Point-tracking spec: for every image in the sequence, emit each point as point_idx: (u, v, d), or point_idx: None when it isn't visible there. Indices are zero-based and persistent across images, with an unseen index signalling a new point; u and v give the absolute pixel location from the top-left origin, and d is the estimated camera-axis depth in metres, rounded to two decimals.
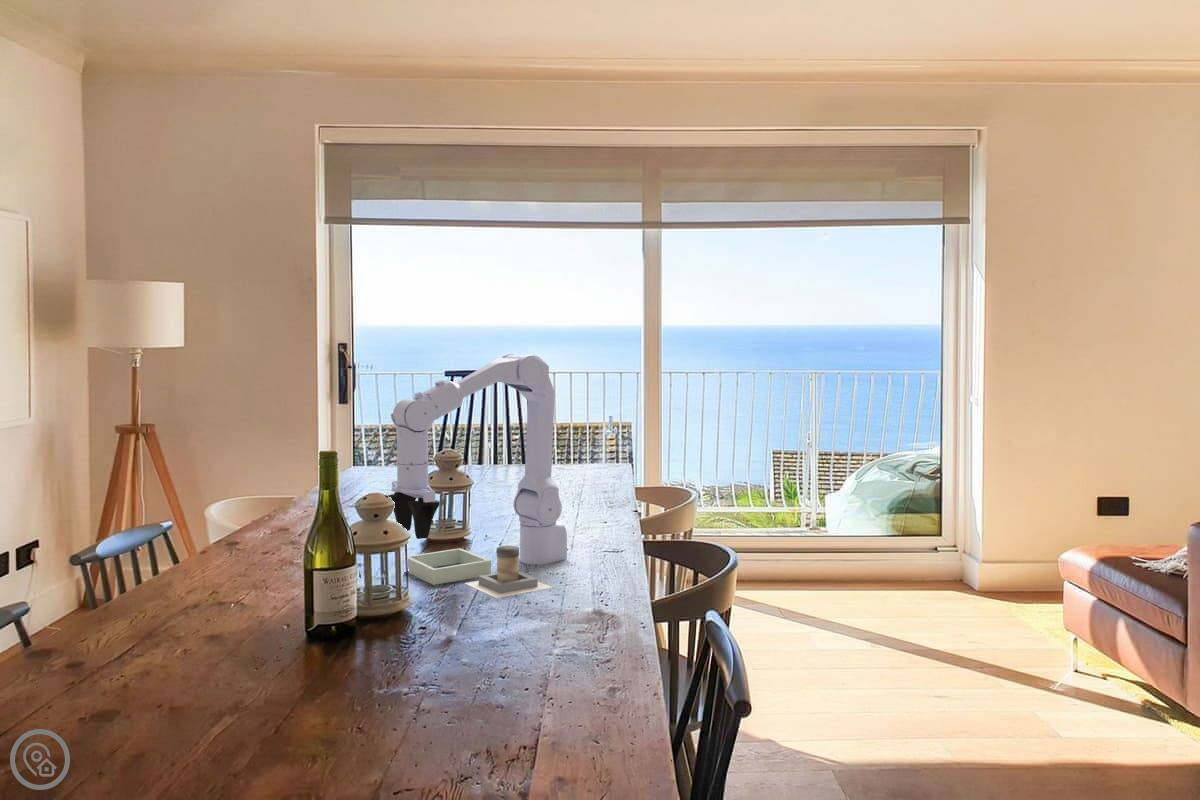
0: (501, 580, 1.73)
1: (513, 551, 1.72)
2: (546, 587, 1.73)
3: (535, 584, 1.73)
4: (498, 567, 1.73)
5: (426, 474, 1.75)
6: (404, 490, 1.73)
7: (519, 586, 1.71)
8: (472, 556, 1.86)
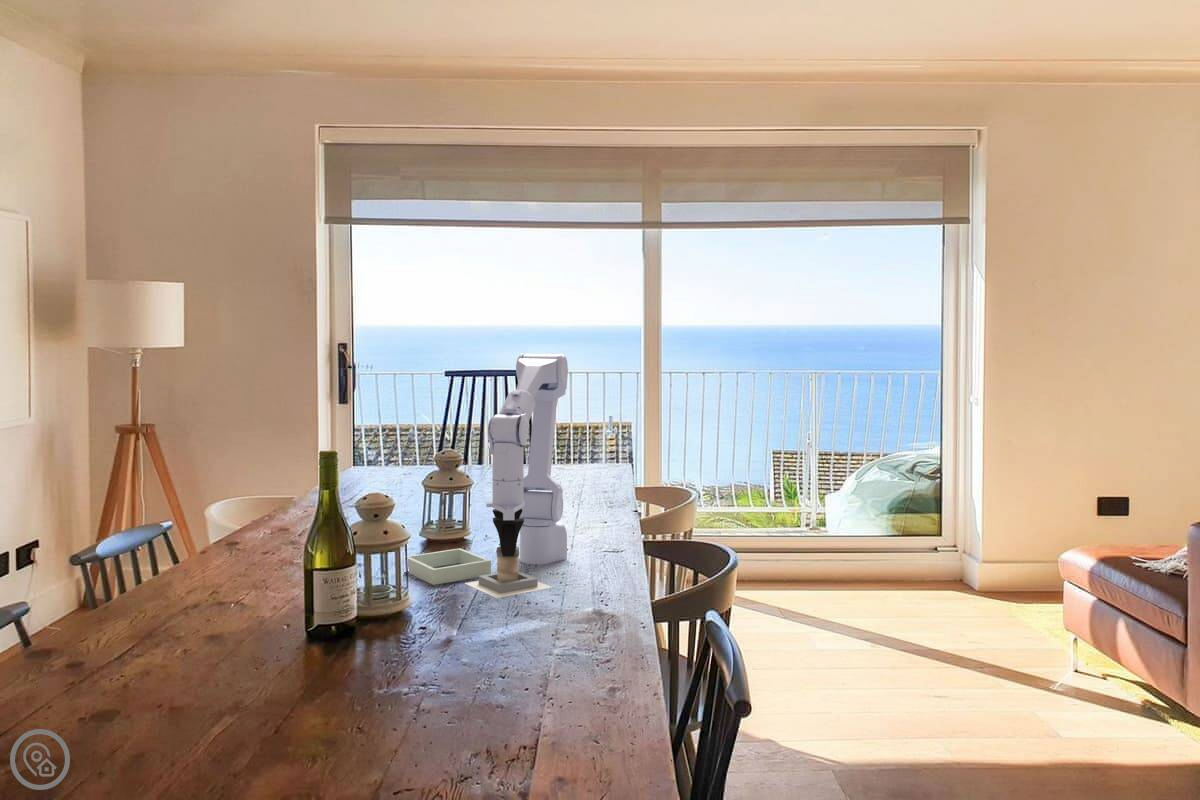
0: (501, 580, 1.73)
1: None
2: (546, 587, 1.73)
3: (535, 584, 1.73)
4: (498, 567, 1.73)
5: (517, 491, 1.71)
6: (494, 506, 1.71)
7: (519, 586, 1.71)
8: (472, 556, 1.86)
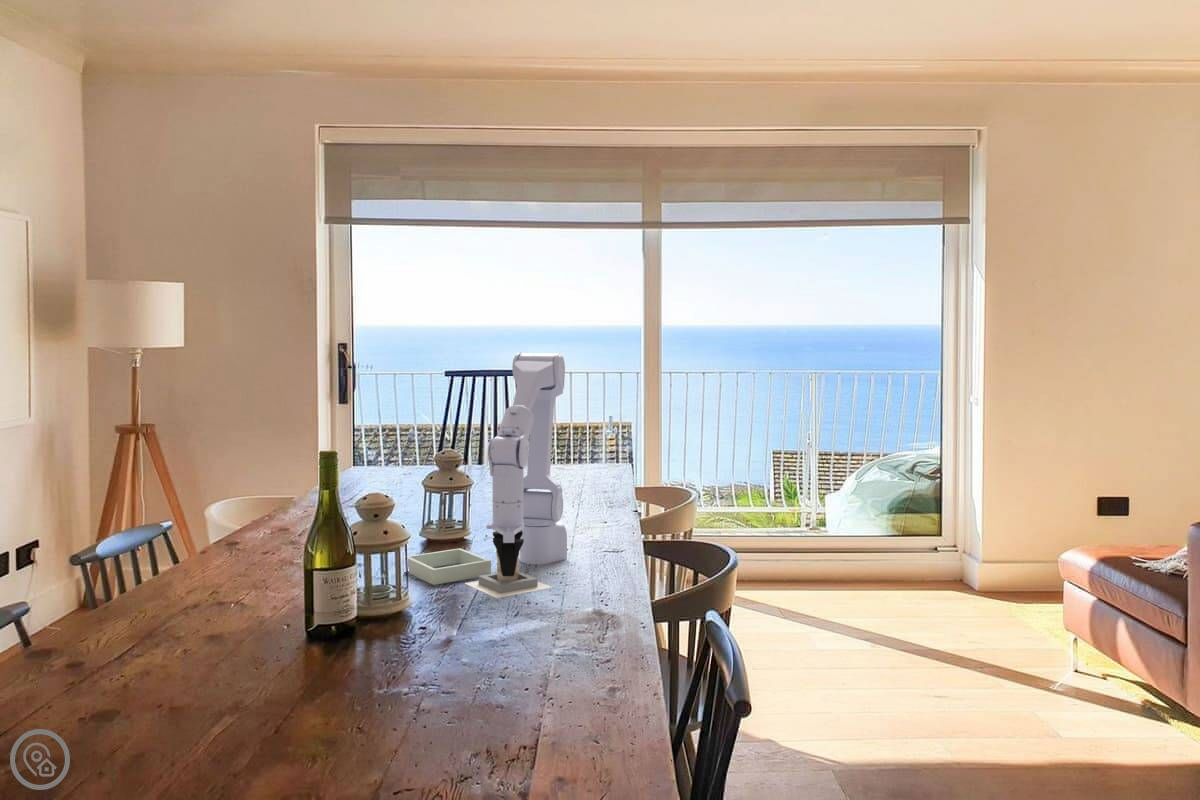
0: (501, 580, 1.73)
1: None
2: (546, 587, 1.73)
3: (535, 584, 1.73)
4: (498, 567, 1.73)
5: (517, 513, 1.72)
6: (494, 527, 1.72)
7: (519, 586, 1.71)
8: (472, 556, 1.86)
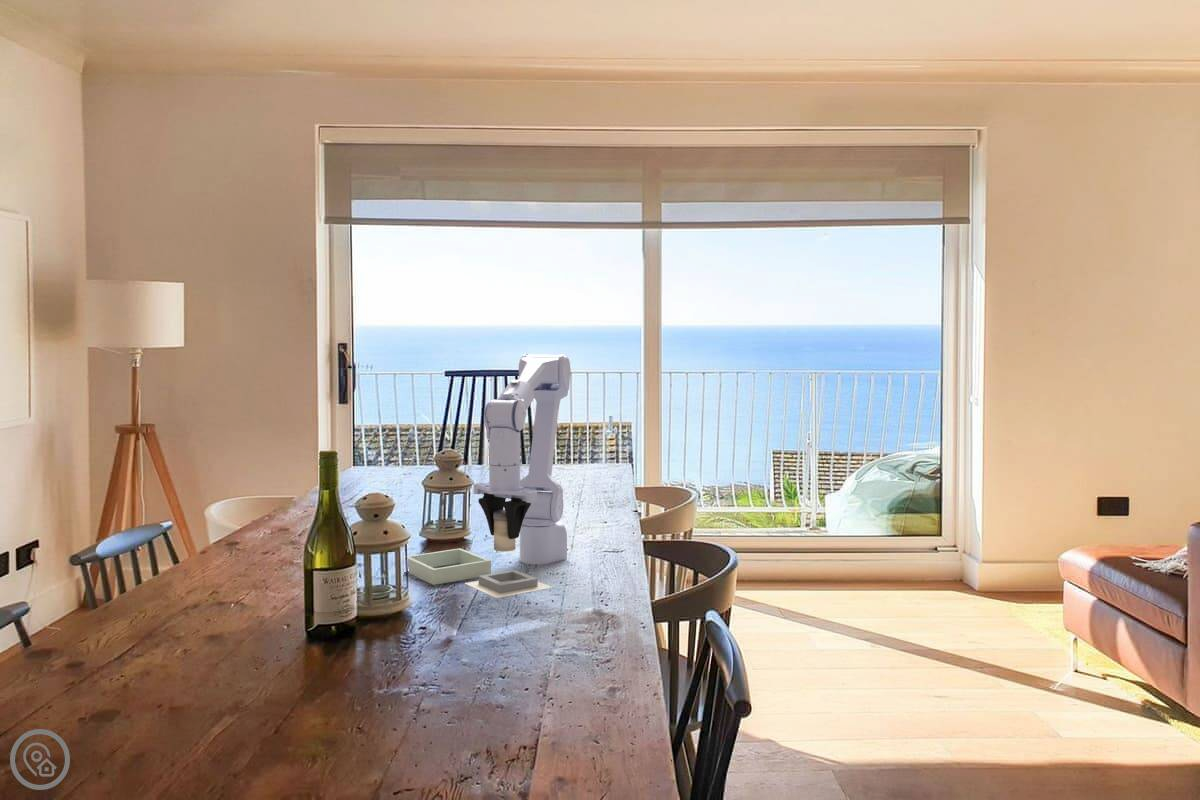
0: (506, 544, 1.73)
1: None
2: (546, 587, 1.73)
3: (535, 584, 1.73)
4: (501, 532, 1.72)
5: (519, 475, 1.73)
6: (502, 492, 1.71)
7: (519, 586, 1.71)
8: (472, 556, 1.86)
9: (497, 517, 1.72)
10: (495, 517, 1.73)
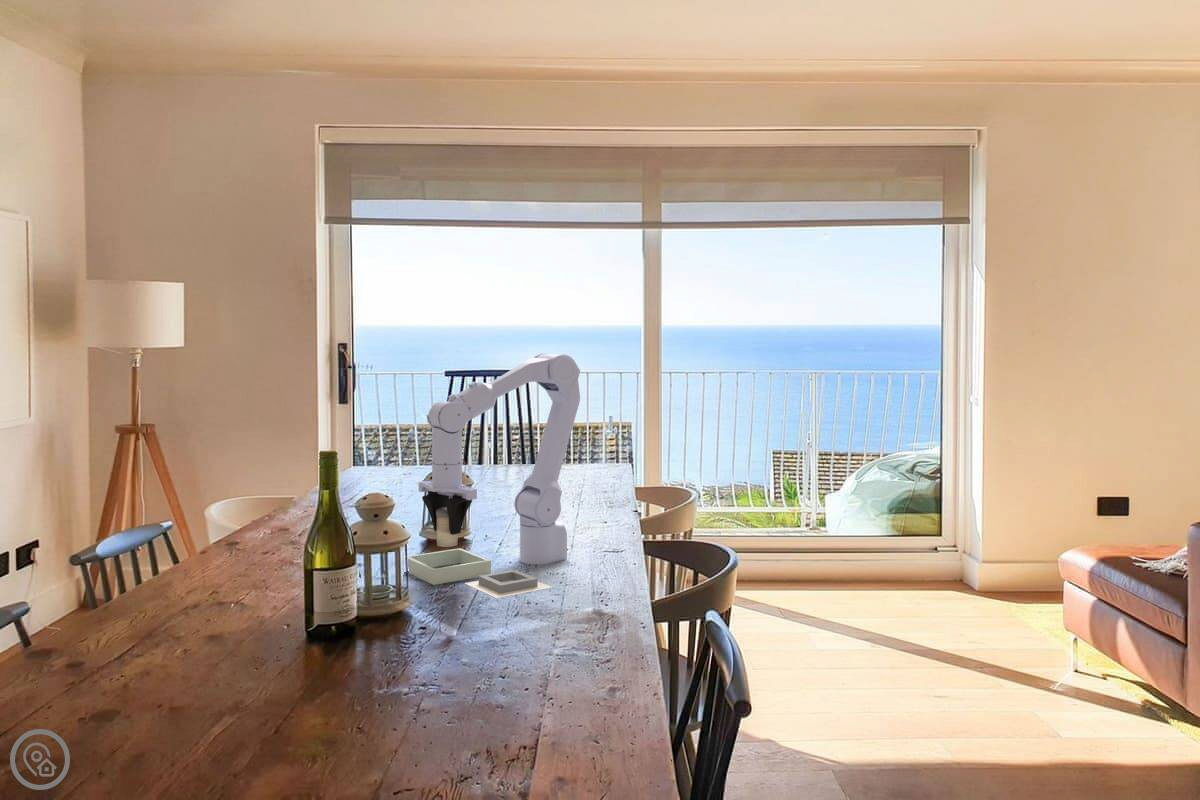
0: (448, 539, 1.81)
1: None
2: (546, 587, 1.73)
3: (535, 584, 1.73)
4: (443, 528, 1.80)
5: (461, 473, 1.82)
6: (443, 489, 1.79)
7: (519, 586, 1.71)
8: (472, 556, 1.86)
9: (439, 514, 1.81)
10: (437, 514, 1.81)
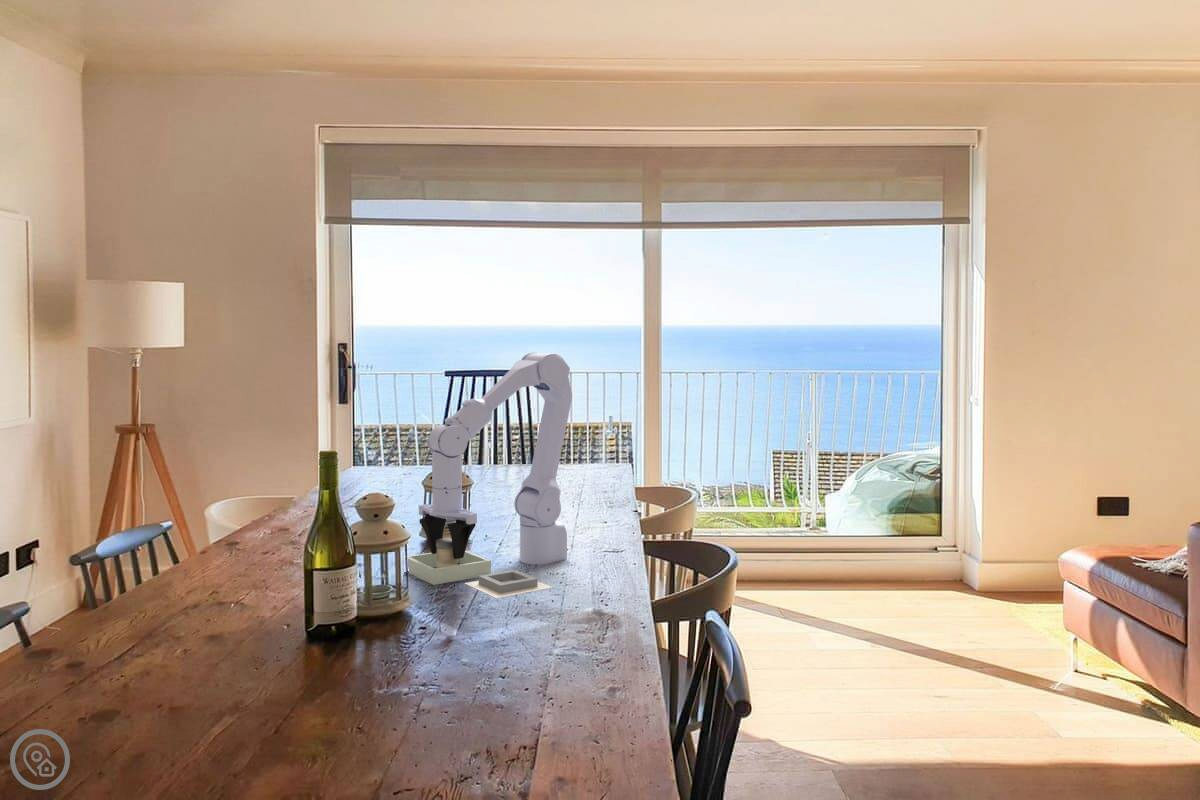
0: None
1: None
2: (546, 587, 1.73)
3: (535, 584, 1.73)
4: (443, 559, 1.81)
5: (461, 497, 1.82)
6: (443, 513, 1.79)
7: (519, 586, 1.71)
8: (472, 556, 1.86)
9: (439, 545, 1.81)
10: (437, 545, 1.81)
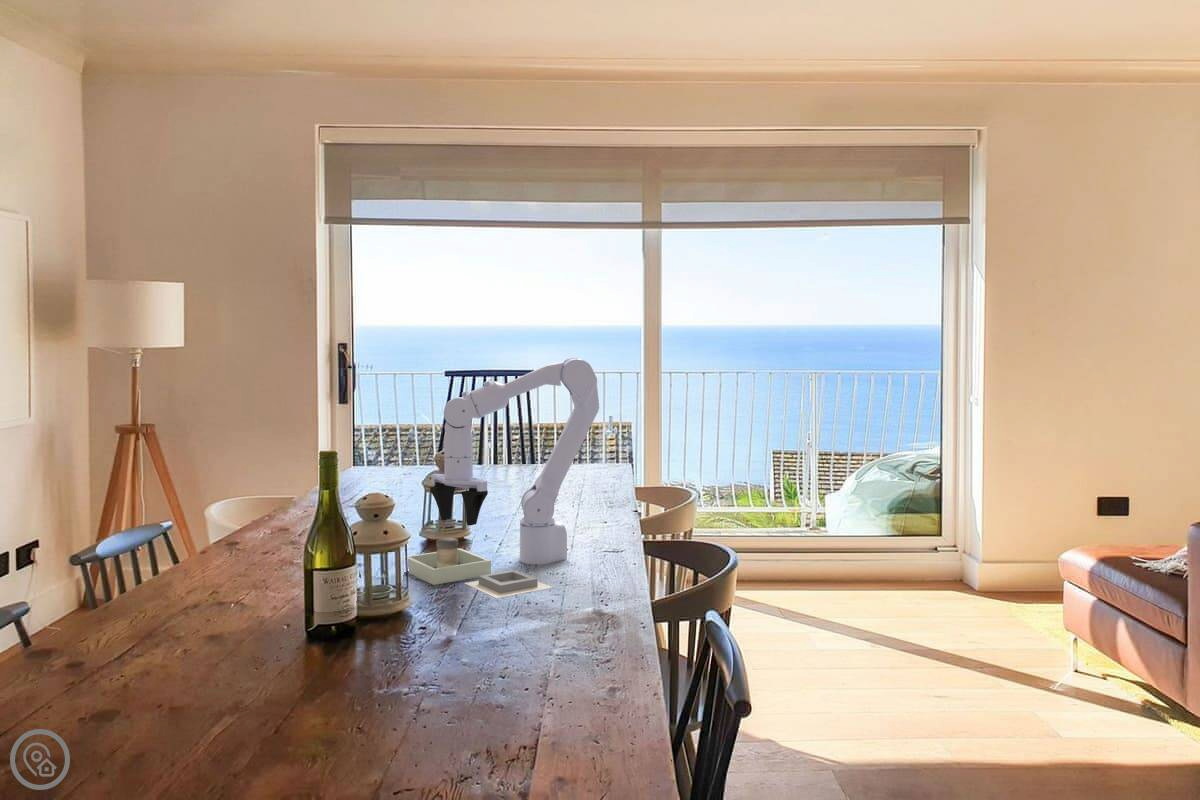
0: None
1: (457, 541, 1.82)
2: (546, 587, 1.73)
3: (535, 584, 1.73)
4: (443, 559, 1.81)
5: (472, 466, 1.90)
6: (455, 481, 1.87)
7: (519, 586, 1.71)
8: (472, 556, 1.86)
9: (439, 545, 1.81)
10: (438, 545, 1.81)
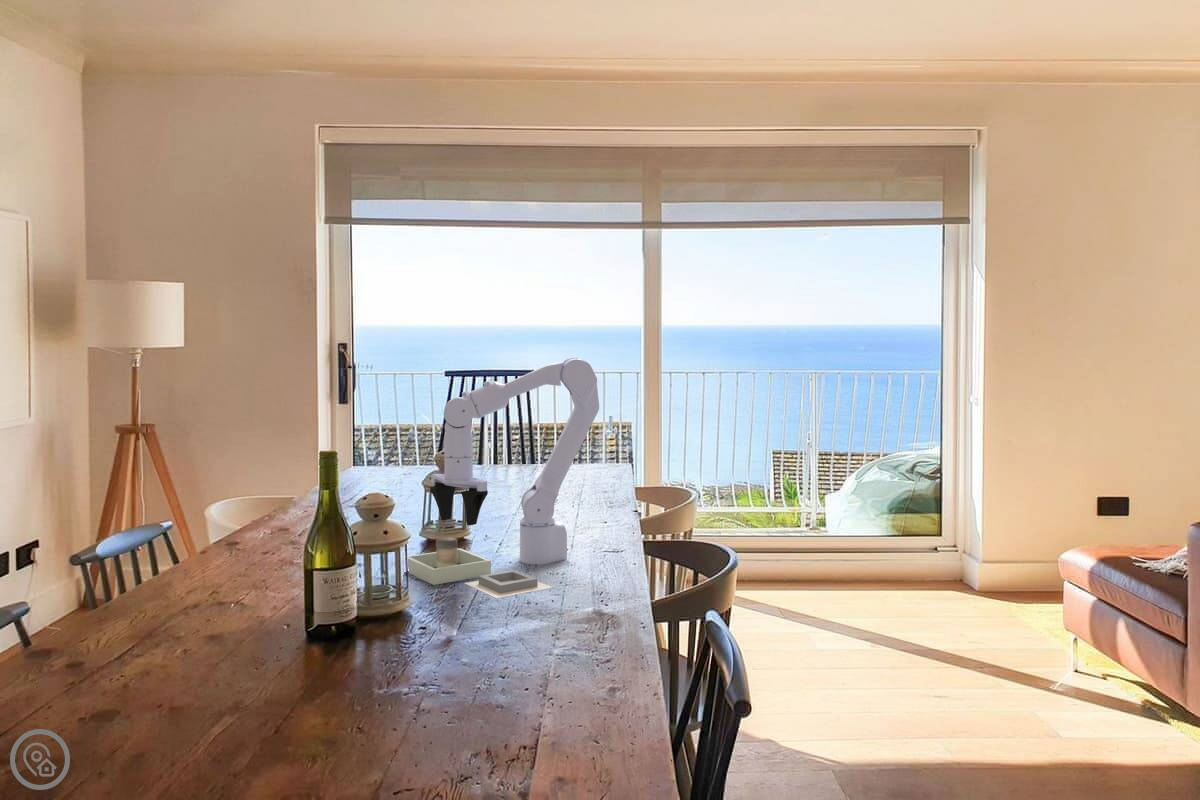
0: None
1: (456, 541, 1.82)
2: (546, 587, 1.73)
3: (535, 584, 1.73)
4: (443, 559, 1.81)
5: (472, 466, 1.90)
6: (455, 481, 1.87)
7: (519, 586, 1.71)
8: (472, 556, 1.86)
9: (439, 545, 1.81)
10: (437, 545, 1.81)
